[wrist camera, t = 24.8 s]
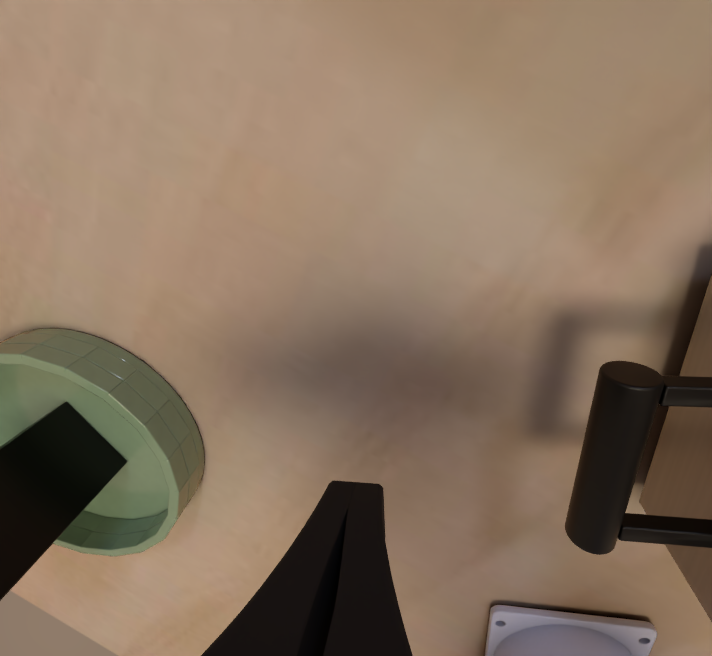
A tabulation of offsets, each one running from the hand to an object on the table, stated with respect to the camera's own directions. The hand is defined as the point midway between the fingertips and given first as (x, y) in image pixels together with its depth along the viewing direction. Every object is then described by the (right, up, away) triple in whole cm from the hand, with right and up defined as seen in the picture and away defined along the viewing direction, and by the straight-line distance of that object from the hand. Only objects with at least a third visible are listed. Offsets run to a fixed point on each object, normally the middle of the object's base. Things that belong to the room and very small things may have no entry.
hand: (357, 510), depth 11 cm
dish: (-14, -1, +10) cm, 17 cm away
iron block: (-15, -1, +10) cm, 18 cm away
